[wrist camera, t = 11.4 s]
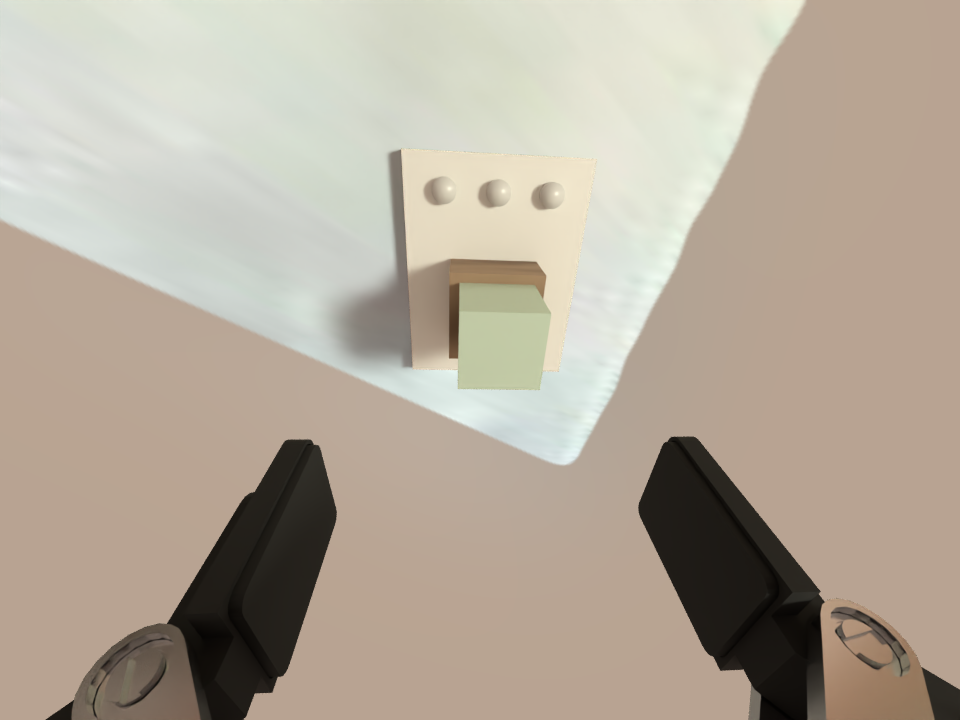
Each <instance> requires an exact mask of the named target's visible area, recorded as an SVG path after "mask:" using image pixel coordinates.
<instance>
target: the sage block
mask: <svg viewBox="0 0 960 720" xmlns="http://www.w3.org/2000/svg"><path fill="white" fill-rule="evenodd" d="M550 320H551V312H550V310H549V309H548V307H547V305H546V303H545V302H544V300H543V298H542V296H541V295H540V293H539V291H538V290H537V288H536V286H535V285H520V284H487V283H460V285H459V337H458V389H506V390H540V384H541V378H542V371H543V365H544V358H545V352H546V346H547V339H548V333H549V326H550Z"/></svg>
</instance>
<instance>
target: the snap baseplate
mask: <svg viewBox="0 0 960 720" xmlns="http://www.w3.org/2000/svg"><path fill="white" fill-rule="evenodd" d="M401 157H402V175H403V194H404V213H405V232H406V251H407V270H408V289H409V308H410V326H411V345H412V364H413V369H422V370H458V359H449V271H450V260H451V259H476V260H504V261H533V262H537V263H538V265H539V266H540V267H541V269H542V270H543V272H544V273H545V274H546V283H545V290H544V297H543V300H544V302H545V303H546V305H547V307H548V309H549V310H550V312H551V320H550V326H549V333H548V339H547V346H546V352H545V358H544V365H543V371H552V372H559V367H560V361H561V355H562V350H563V344H564V339H565V333H566V328H567V322H568V317H569V311H570V306H571V300H572V295H573V289H574V284H575V278H576V273H577V267H578V262H579V256H580V251H581V245H582V240H583V234H584V228H585V223H586V217H587V212H588V206H589V201H590V195H591V190H592V184H593V179H594V173H595V168H596V162H597V159H585V158H566V157H548V156H530V155H511V154H493V153H474V152H456V151H438V150H419V149H401Z"/></svg>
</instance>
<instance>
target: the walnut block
mask: <svg viewBox="0 0 960 720" xmlns="http://www.w3.org/2000/svg"><path fill="white" fill-rule="evenodd" d="M460 283H487V284H520V285H535V286H536V288H537V290H538V291H539V293H540V295H541V296H542V298H543V297H544V290H545V283H546V274H545V273H544V272H543V270H542V269H541V267H540V266H539V265H538V263H537V262H533V261H504V260H476V259H451V260H450V271H449V359H458V337H459V285H460Z"/></svg>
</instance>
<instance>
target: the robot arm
mask: <svg viewBox="0 0 960 720" xmlns="http://www.w3.org/2000/svg"><path fill="white" fill-rule="evenodd" d="M638 508H639V515H640V517H641V519H642V522H643V524H644V526H645V528H646V530H647V532H648V534H649V536H650V538H651V540H652V542H653V544H654V546H655V548H656V551H657V553H658V555H659V557H660V559H661V561H662V563H663V565H664V567H665V569H666V571H667V573H668V575H669V577H670V579H671V581H672V584H673V586H674V587H675V590H676V592H677V594H678V596H679V598H680V600H681V602H682V604H683V606H684V609H685V611H686V613H687V615H688V617H689V619H690V621H691V623H692V625H693V627H694V629H695V631H696V633H697V635H698V637H699V640H700V642H701V644H702V646H703V647H704V649H705V651H706V652H707V653H708V654H709V655H710V656H713V657H714V659H715V661H716V663H717V665H718V667H719V669H720V670H721V671H722V670H742V669H744V671H745V673H746V675H747V677H748V679H749V681H750V682H751V695H750V707H749V720H960V690H959V689H958V688H956V687H954V686H953V685H951V684H949V683H948V682H946V681H944V680H942V679H941V678H939V677H937V676H936V675H934V674H932V673H931V672H929V671H927V670H925V669H924V668H922V667H921V665H920V663H919V661H918V658H917V656H916V654H915V653H914V651H913V650H912V648H911V647H910V646H909V644H908V643H907V642H906V640H905V639H904V638H903V637H902V636H901V635H900V634H899V633H898V632H897V631H896V630H895V629H894V628H893V627H892V626H891V625H890V624H888V623H887V622H886V621H885V620H883V619H882V618H881V617H879V616H878V615H876V614H875V613H873V612H872V611H870V610H868V609H867V608H865V607H863V606H861V605H859V604H856V603H854V602H851V601H848V600H843V599H838V598H836V599H829V600H827V601H826V602H824V600H823V599H822V598H821V597H820V595H819V593H820V590H819V589H818V588H817V586H816V585H815V584H814V583H813V581H812V580H811V579H810V578H809V576H808V575H807V574H806V573H805V571H804V570H803V569H802V568H801V567H800V565H799V564H798V563H797V562H796V560H795V559H794V558H793V557H792V555H791V554H790V553H789V552H788V550H787V549H786V548H785V547H784V546H783V544H782V543H781V542H780V541H779V539H778V538H777V537H776V535H775V534H774V533H773V532H772V531H771V529H770V528H769V527H768V526H767V524H766V523H765V522H764V521H763V519H762V518H761V517H760V516H759V514H758V513H757V512H756V511H755V509H754V508H753V507H752V506H751V504H750V503H749V502H748V501H747V500H746V498H745V497H744V496H743V495H742V493H741V492H740V491H739V490H738V488H737V487H736V486H735V485H734V483H733V482H732V481H731V480H730V478H729V477H728V476H727V475H726V473H725V472H724V471H723V470H722V468H721V467H720V466H719V465H718V463H717V462H716V461H715V460H714V459H713V457H712V456H711V455H710V454H709V452H708V451H707V450H706V449H705V447H704V446H703V445H702V444H701V442H700V441H699V440H698V439H697V438H695V437H671V438H670V439H669V440H668V442H665V443H664V444H663V446H662V448H661V451H660V453H659V455H658V458H657V460H656V463H655V465H654V468H653V470H652V473H651V475H650V478H649V480H648V483H647V485H646V487H645V490H644V492H643V495H642V497H641V500H640V502H639V507H638ZM336 513H337V511H336V506H335V503H334V499H333V495H332V491H331V488H330V484H329V480H328V477H327V472H326V469H325V465H324V461H323V457H322V453H321V450H320V447H319V446H318V445H314V444H313V442H312V441H311V440H286V441H285V442H284V443H283V445H282V447H281V448H280V450H279V452H278V453H277V455H276V457H275V458H274V460H273V462H272V464H271V465H270V467H269V469H268V470H267V472H266V474H265V475H264V477H263V479H262V481H261V483H260V484H259V486H258V487H257V489H256V491H255V492H253V493H250V494H248V495H247V496H245V498H244V499H243V500H242V502H241V503H240V505H239V506H238V508H237V509H236V511H235V513H234V514H233V516H232V518H231V520H230V521H229V523H228V525H227V526H226V528H225V529H224V531H223V532H222V534H221V536H220V537H219V539H218V541H217V542H216V544H215V546H214V547H213V549H212V551H211V552H210V554H209V556H208V557H207V559H206V560H205V562H204V564H203V565H202V567H201V569H200V570H199V572H198V574H197V575H196V577H195V579H194V580H193V582H192V583H191V585H190V587H189V588H188V590H187V592H186V593H185V595H184V597H183V598H182V600H181V602H180V603H179V605H178V607H177V608H176V610H175V611H174V613H173V615H172V617H171V618H170V620H169V621H168V623H167V624H160V623H159V624H155V625H151V626H147V627H144V628H142V629H140V630H138V631H136V632H134V633H132V634H130V635H128V636H127V637H125V638H124V639H122V640H121V641H119V642H118V643H117V644H115V645H114V646H112V647H111V648H110V649H109V650H108V651H107V652H106V653H105V654H104V655H103V656H102V657H101V658H100V659H99V660H98V661H97V662H96V663H95V664H94V666H93V667H92V668H91V670H90V671H89V672H88V673H87V675H86V676H85V677H84V679H83V681H82V683H81V685H80V687H79V689H78V691H77V693H76V695H75V698H74V700H73V701H72V702H70V703H69V704H68V705H66V706H65V707H63V708H62V709H61V710H59V711H57V712H56V713H55V714H53V715H52V716H50V717H49V718H47V719H46V720H244V718H245V717H246V716H247V713H248V710H249V707H250V705H251V702H252V699H253V697H254V694H255V693H272V692H273V689H274V686H275V683H276V680H277V677H281V676H283V675H284V674H285V673H286V671H287V669H288V666H289V664H290V660H291V658H292V655H293V651H294V649H295V645H296V642H297V639H298V636H299V633H300V630H301V627H302V624H303V621H304V618H305V615H306V612H307V608H308V606H309V602H310V599H311V596H312V593H313V590H314V587H315V584H316V581H317V578H318V575H319V572H320V569H321V566H322V563H323V560H324V557H325V553H326V550H327V547H328V544H329V541H330V538H331V535H332V532H333V529H334V526H335V522H336V515H337V514H336Z"/></svg>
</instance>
